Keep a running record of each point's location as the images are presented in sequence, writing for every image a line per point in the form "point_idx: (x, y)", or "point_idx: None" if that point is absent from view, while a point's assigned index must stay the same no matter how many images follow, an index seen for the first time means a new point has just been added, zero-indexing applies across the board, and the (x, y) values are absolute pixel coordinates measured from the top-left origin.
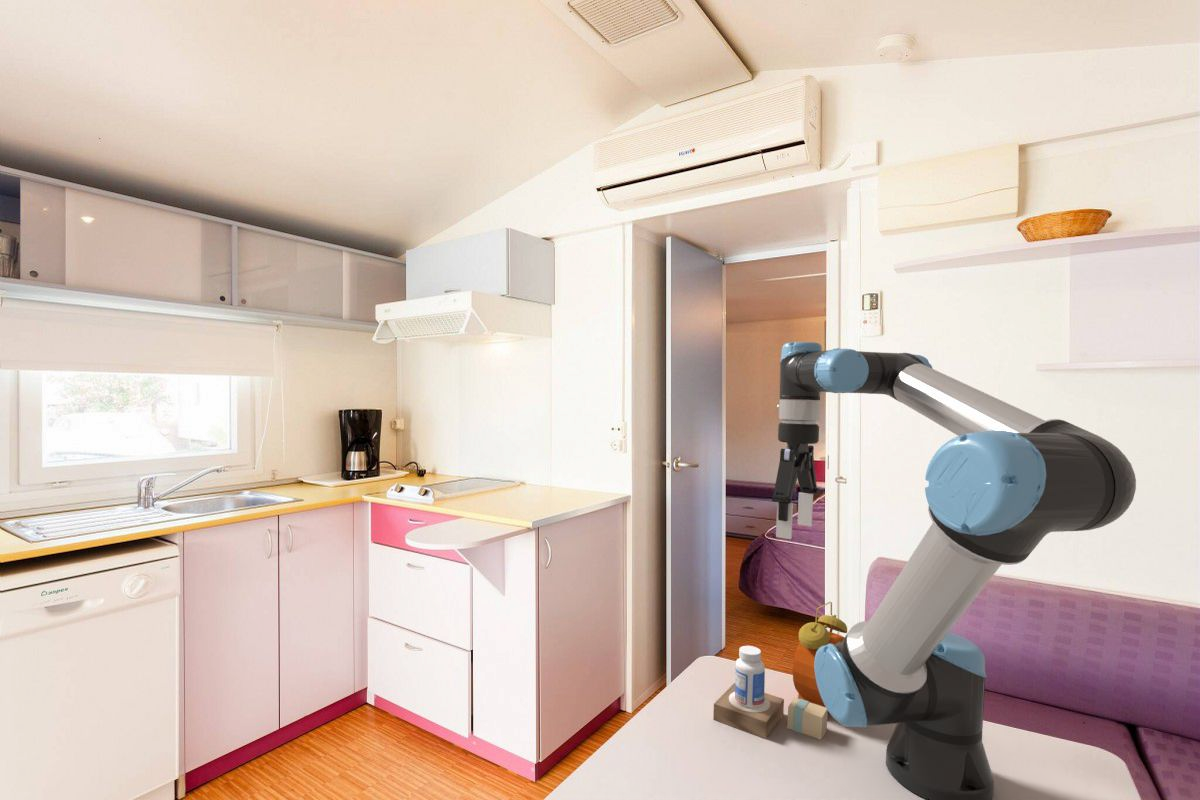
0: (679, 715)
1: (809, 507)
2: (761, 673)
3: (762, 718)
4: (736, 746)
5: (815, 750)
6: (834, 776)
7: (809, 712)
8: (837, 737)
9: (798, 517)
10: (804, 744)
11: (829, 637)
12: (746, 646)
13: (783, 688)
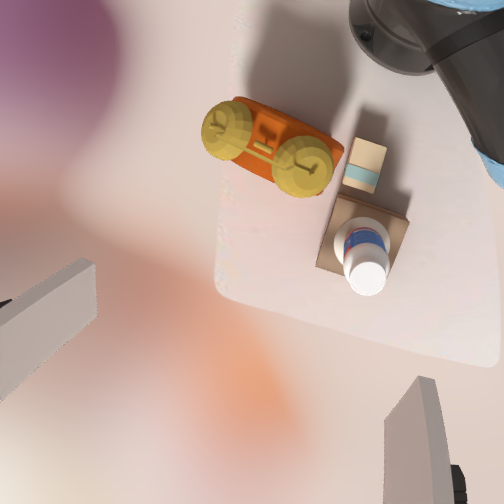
0: (381, 315)
1: (28, 318)
2: (381, 247)
3: (402, 227)
4: (428, 249)
5: (410, 156)
6: (452, 140)
7: (379, 164)
8: (369, 124)
9: (77, 331)
10: (401, 168)
11: (308, 136)
12: (355, 285)
13: (261, 193)
